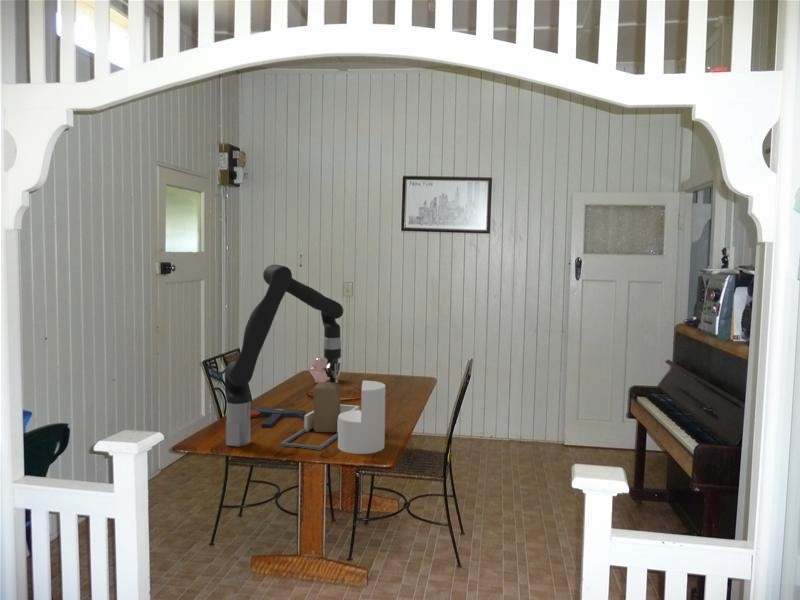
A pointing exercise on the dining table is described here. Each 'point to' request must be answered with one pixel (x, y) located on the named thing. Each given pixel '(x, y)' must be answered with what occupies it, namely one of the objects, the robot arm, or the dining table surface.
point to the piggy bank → (321, 370)
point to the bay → (285, 443)
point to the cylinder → (364, 422)
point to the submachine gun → (274, 414)
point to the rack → (310, 416)
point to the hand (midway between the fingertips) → (332, 385)
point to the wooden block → (326, 406)
